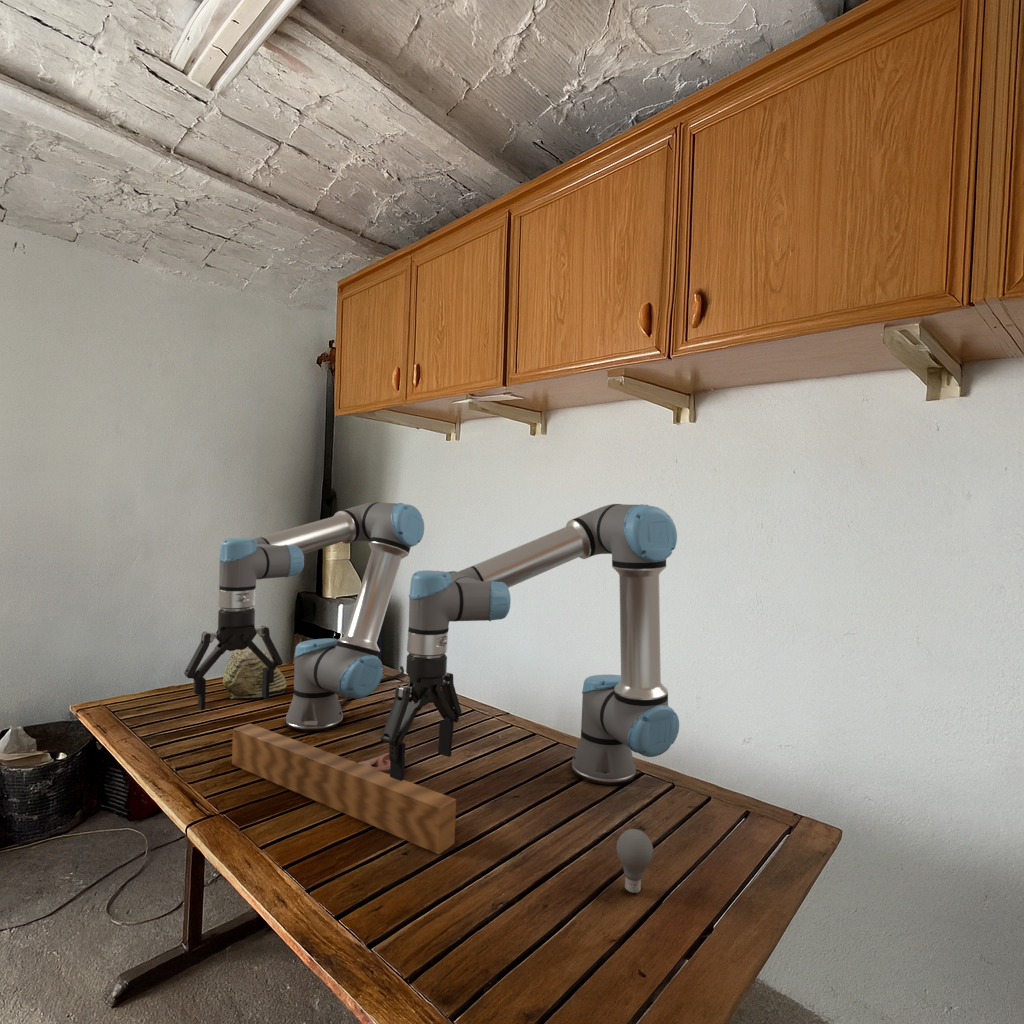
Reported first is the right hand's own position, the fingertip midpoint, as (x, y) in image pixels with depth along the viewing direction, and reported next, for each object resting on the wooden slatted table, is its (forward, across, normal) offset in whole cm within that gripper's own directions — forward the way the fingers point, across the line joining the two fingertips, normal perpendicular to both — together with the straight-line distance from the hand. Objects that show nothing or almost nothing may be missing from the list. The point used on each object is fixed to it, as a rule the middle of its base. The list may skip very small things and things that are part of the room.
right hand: (421, 766), depth 119 cm
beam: (+14, 0, +24) cm, 28 cm away
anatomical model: (+14, +15, +27) cm, 33 cm away
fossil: (+14, +32, +96) cm, 102 cm away
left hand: (-3, -6, +50) cm, 50 cm away
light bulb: (+14, +9, -39) cm, 42 cm away
